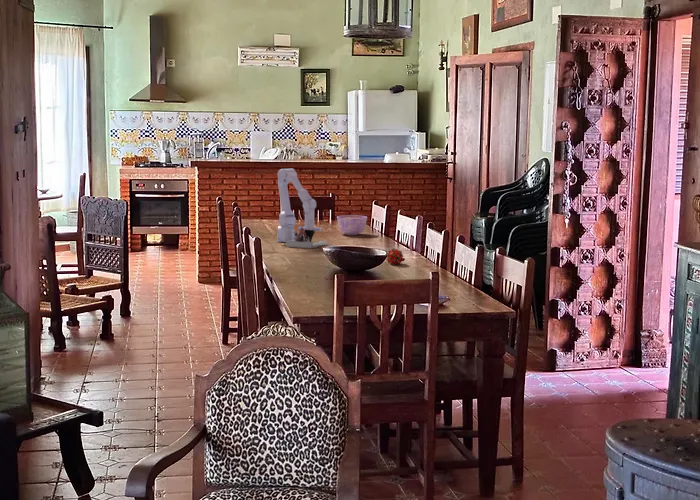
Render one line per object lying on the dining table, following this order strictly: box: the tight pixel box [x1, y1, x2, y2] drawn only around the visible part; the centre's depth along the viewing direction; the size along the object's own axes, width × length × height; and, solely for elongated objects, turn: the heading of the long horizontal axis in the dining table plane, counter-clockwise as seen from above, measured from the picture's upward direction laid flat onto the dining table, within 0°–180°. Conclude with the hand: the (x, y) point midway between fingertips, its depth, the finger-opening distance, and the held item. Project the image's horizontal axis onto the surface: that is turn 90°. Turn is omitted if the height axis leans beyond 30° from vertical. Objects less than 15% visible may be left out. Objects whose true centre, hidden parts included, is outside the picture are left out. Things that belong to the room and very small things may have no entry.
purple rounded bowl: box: [336, 214, 368, 236], centre depth 553 cm, size 20×20×12 cm
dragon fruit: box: [386, 248, 406, 266], centre depth 438 cm, size 8×8×12 cm
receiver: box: [285, 239, 328, 249], centre depth 499 cm, size 19×19×4 cm
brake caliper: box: [292, 226, 310, 242], centre depth 498 cm, size 11×11×12 cm
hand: (309, 242), depth 504 cm, fingers closed
